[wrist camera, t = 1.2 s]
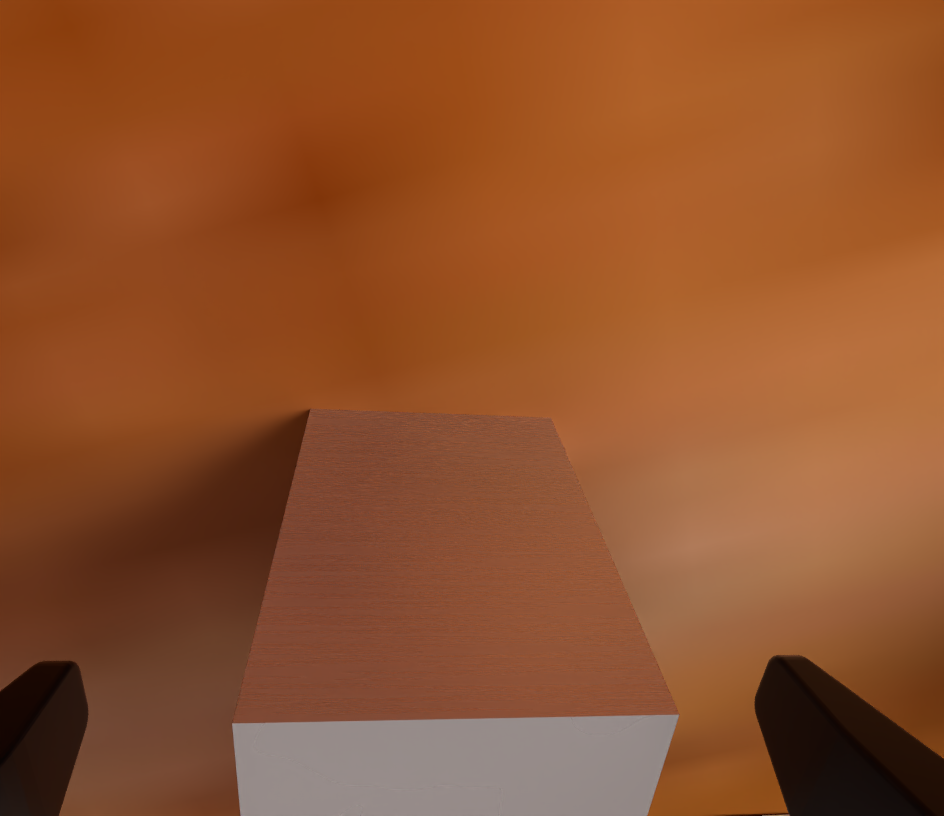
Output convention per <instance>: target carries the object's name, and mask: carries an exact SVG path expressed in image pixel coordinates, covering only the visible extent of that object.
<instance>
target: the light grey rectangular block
mask: <svg viewBox="0 0 944 816" xmlns="http://www.w3.org/2000/svg"><path fill="white" fill-rule="evenodd" d="M678 717H679V713H678V710H677V708H676V706H675V703H674V701H673V699H672V697H671V694H670V692H669V690H668V687H667V685H666V683H665V680H664V678H663V676H662V673H661V671H660V669H659V667H658V664H657V662H656V660H655V657H654V655H653V653H652V650H651V648H650V646H649V643H648V641H647V639H646V636H645V634H644V632H643V630H642V627H641V625H640V623H639V620H638V618H637V616H636V613H635V611H634V609H633V606H632V604H631V602H630V599H629V597H628V595H627V593H626V590H625V588H624V586H623V583H622V581H621V579H620V576H619V574H618V572H617V569H616V567H615V565H614V562H613V560H612V558H611V556H610V553H609V551H608V549H607V546H606V544H605V542H604V539H603V537H602V535H601V532H600V530H599V528H598V526H597V523H596V521H595V519H594V516H593V514H592V512H591V509H590V507H589V505H588V502H587V500H586V498H585V495H584V493H583V491H582V489H581V486H580V484H579V482H578V479H577V477H576V475H575V472H574V470H573V468H572V465H571V463H570V461H569V458H568V456H567V454H566V452H565V449H564V447H563V445H562V442H561V440H560V438H559V435H558V433H557V431H556V428H555V426H554V424H553V421H552V419H551V418H543V417H516V416H489V415H462V414H435V413H408V412H381V411H354V410H327V409H310V413H309V417H308V421H307V425H306V429H305V433H304V437H303V441H302V445H301V449H300V453H299V457H298V461H297V465H296V469H295V473H294V477H293V481H292V485H291V489H290V493H289V497H288V501H287V505H286V509H285V513H284V517H283V521H282V525H281V529H280V533H279V537H278V541H277V545H276V549H275V553H274V557H273V561H272V565H271V569H270V573H269V577H268V582H267V586H266V590H265V594H264V598H263V602H262V606H261V610H260V614H259V618H258V622H257V626H256V630H255V634H254V638H253V642H252V646H251V650H250V654H249V658H248V662H247V666H246V670H245V674H244V678H243V682H242V686H241V690H240V694H239V698H238V702H237V706H236V710H235V714H234V718H233V722H232V727H233V738H234V749H235V760H236V771H237V782H238V793H239V804H240V815H241V816H647V814H648V811H649V808H650V805H651V802H652V799H653V796H654V792H655V789H656V786H657V783H658V780H659V777H660V774H661V771H662V767H663V764H664V761H665V758H666V755H667V752H668V749H669V745H670V742H671V739H672V736H673V733H674V730H675V727H676V723H677V720H678Z"/></svg>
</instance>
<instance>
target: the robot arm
mask: <svg viewBox="0 0 944 816" xmlns="http://www.w3.org/2000/svg"><path fill="white" fill-rule="evenodd" d="M755 712H756V716H757V719H758V722H759V725H760V728H761V731H762V734H763V737H764V740H765V744H766V747H767V750H768V753H769V756H770V759H771V762H772V765H773V768H774V771H775V774H776V777H777V780H778V783H779V786H780V789H781V792H782V795H783V798H784V801H785V804H786V807H787V810H788V812H789V815H790V816H944V759H943V758H942V757H941V756H939V755H938V754H937V753H935V752H934V751H932V750H931V749H930V748H928V747H927V746H926V745H924V744H923V743H922V742H920V741H919V740H917V739H916V738H915V737H913V736H912V735H911V734H909V733H908V732H907V731H905V730H904V729H902V728H901V727H900V726H898V725H897V724H896V723H894V722H893V721H892V720H890V719H889V718H888V717H886V716H885V715H883V714H882V713H881V712H879V711H878V710H877V709H875V708H874V707H873V706H871V705H870V704H868V703H867V702H866V701H864V700H863V699H862V698H860V697H859V696H858V695H856V694H855V693H854V692H852V691H851V690H849V689H848V688H847V687H845V686H844V685H843V684H841V683H840V682H839V681H837V680H836V679H834V678H833V677H832V676H830V675H829V674H828V673H826V672H825V671H824V670H822V669H821V668H820V667H818V666H817V665H815V664H814V663H813V662H811V661H810V660H808V659H807V658H805V657H803V656H800V655H776V656H773V657H772V658H771V659H770V660H769V662H768V664H767V667H766V669H765V672H764V674H763V677H762V680H761V682H760V685H759V687H758V690H757V693H756V696H755ZM87 721H88V704H87V699H86V695H85V690H84V686H83V681H82V677H81V672H80V669H79V666H78V665H77V663H75V662H73V661H42V662H39V663H37V664H35V665H33V666H32V667H31V668H29V669H28V670H27V671H25V672H24V673H23V674H22V675H20V676H19V677H18V678H17V679H15V680H14V681H13V682H11V683H10V684H9V685H8V686H6V687H5V688H4V689H3V690H1V691H0V816H59V813H60V810H61V807H62V804H63V800H64V797H65V794H66V791H67V788H68V784H69V781H70V778H71V775H72V772H73V768H74V765H75V762H76V759H77V756H78V752H79V749H80V746H81V743H82V740H83V736H84V733H85V730H86V726H87Z"/></svg>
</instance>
